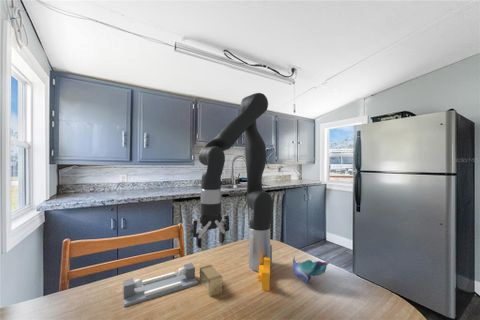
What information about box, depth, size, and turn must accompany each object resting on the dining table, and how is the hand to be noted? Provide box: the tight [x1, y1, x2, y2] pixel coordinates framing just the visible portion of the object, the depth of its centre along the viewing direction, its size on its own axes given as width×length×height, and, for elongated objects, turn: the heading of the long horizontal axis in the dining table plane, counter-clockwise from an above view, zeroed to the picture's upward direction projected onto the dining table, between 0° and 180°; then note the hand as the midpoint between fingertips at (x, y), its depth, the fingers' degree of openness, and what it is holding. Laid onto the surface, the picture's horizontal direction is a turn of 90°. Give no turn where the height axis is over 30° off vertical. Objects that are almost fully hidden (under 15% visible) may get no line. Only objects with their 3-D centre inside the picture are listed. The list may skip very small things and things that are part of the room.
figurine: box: [292, 255, 332, 284], centre depth 79 cm, size 13×12×9 cm
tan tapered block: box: [199, 264, 223, 298], centre depth 76 cm, size 10×5×6 cm, turn 31°
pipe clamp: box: [257, 257, 271, 292], centre depth 80 cm, size 12×4×6 cm, turn 171°
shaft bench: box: [122, 262, 199, 308], centre depth 76 cm, size 24×10×5 cm, turn 121°
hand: (210, 245), depth 76 cm, fingers open, 8 cm apart
